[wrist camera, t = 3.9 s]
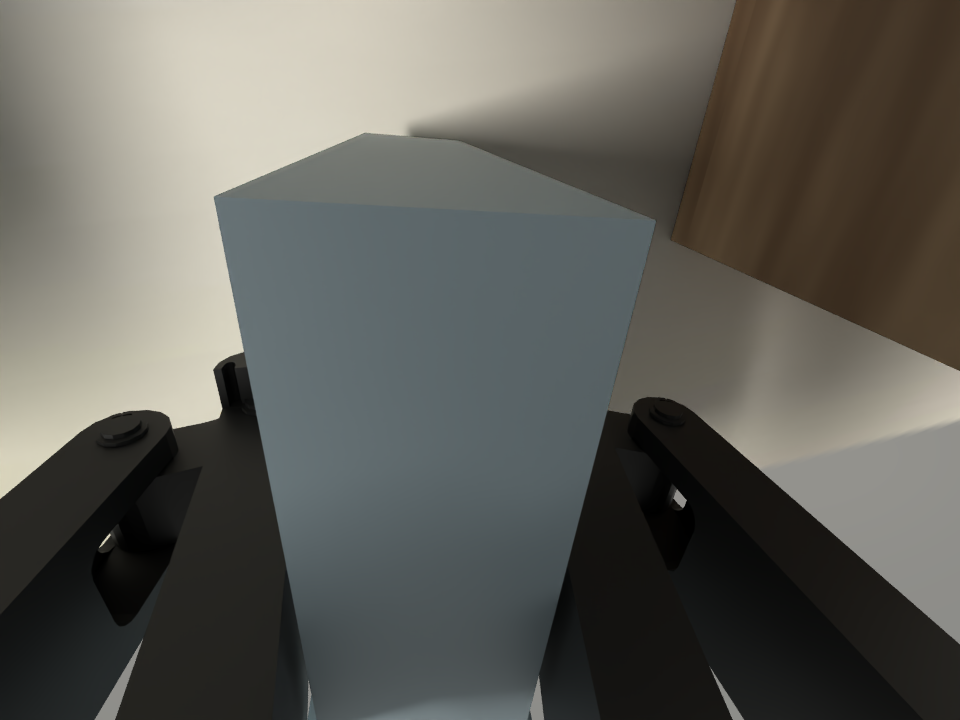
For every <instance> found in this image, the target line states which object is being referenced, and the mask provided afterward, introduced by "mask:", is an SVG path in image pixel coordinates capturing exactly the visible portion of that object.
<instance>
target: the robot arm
mask: <svg viewBox="0 0 960 720" xmlns="http://www.w3.org/2000/svg"><path fill="white" fill-rule="evenodd" d="M213 371H214V375H215V379H216V383H217V387H218V392H219V396H220V400H221V404H222V408H223V409H222V412H221V415H220V418H219V419H216V420H213V421H209V422H205V423H201V424H196V425H191V426H186V427H181V428H176V429H173V428H172V425H171V422H170V419H169V417H168V416H166V415H165V414H163V413H161V412H157V411H150V410H141V411H128V412H123V413H118V414H115V415H112V416H110V417H108V418H105V419H103V420H100V421H98V422H95V423H94V424H92V425H91V426H89V427H87V428H86V429H84V430H83V431H81V432H80V433H79V434H78V435H76V436H75V437H74V438H73V439H72V440H70V441H69V442H68V443H67V444H66V445H64V446H63V447H62V448H61V449H60V450H58V451H57V452H56V453H55V454H54V455H52V456H51V457H50V458H49V459H48V460H46V461H45V462H44V463H43V464H42V465H41V466H39V467H38V468H37V469H36V470H35V471H33V472H32V473H31V474H30V475H29V476H27V477H26V478H25V479H24V480H23V481H21V482H20V483H19V484H18V485H17V486H15V487H14V488H13V489H12V490H11V491H9V492H8V493H7V494H6V495H5V496H3V497H2V498H1V499H0V720H94V719H95V718H96V716H97V715H98V713H99V711H100V710H101V708H102V706H103V704H104V703H105V701H106V700H107V698H108V696H109V694H110V693H111V691H112V689H113V688H114V686H115V684H116V683H117V681H118V679H119V677H120V676H121V674H122V672H123V671H124V669H125V668H126V666H127V664H128V663H129V661H130V659H131V658H132V656H133V654H134V653H135V651H136V649H137V648H138V646H139V644H140V643H141V641H142V639H143V641H142V644H141V647H140V650H139V652H138V655H137V658H136V661H135V664H134V667H133V670H132V673H131V676H130V679H129V682H128V684H127V687H126V690H125V693H124V696H123V699H122V702H121V705H120V707H119V710H118V713H117V716H116V719H115V720H307V710H308V674H307V669H306V664H305V659H304V654H303V649H302V643H301V638H300V633H299V628H298V623H297V618H296V613H295V608H294V603H293V598H292V593H291V588H290V582H289V577H288V572H287V567H286V562H285V557H284V552H283V547H282V542H281V537H280V532H279V526H278V521H277V516H276V511H275V506H274V501H273V496H272V491H271V486H270V481H269V476H268V470H267V465H266V460H265V455H264V450H263V445H262V440H261V435H260V430H259V425H258V420H257V414H256V409H255V404H254V399H253V394H252V389H251V384H250V379H249V374H248V369H247V364H246V358H245V353H244V352H243V353H240V354H236V355H233V356H230V357H228V358H226V359H225V360H223V361H221V362H219V363H218V365H217V366H216V367H215V368H214V369H213ZM677 489H678V491H679V492H680V493H681V494H682V495H683V496H684V498H685V499H686V500H687V501H686V504H685V506H684V508H682V507H681V506H680V505H679V504H677V502H676V501H675V500H674V499H673V498H674V495H675V492H676V490H677ZM109 533H110V534H111V536H110V537H109V538H108V540H107V541H106V542H105V543H104V544H103V545H102V546H101V547H100V545H101V544H102V542H103V541H104V539H105V538H106V537H107V536H108V535H109ZM99 547H100V548H99ZM710 668H711V669H712V670H713V672H714V674H715V675H716V677H717V678H718V680H719V681H720V683H721V684H722V686H723V688H724V689H725V691H726V692H727V694H728V695H729V697H730V698H731V700H732V701H733V703H734V704H735V706H736V707H737V709H738V711H739V712H740V714H741V715H742V717H743V718H744V720H960V644H959V643H958V642H956V641H955V640H954V639H953V638H952V637H951V636H949V635H948V634H947V633H946V632H945V631H944V630H943V629H941V628H940V627H939V626H938V625H937V624H936V623H935V622H933V621H932V620H931V619H930V618H929V617H928V616H927V615H925V614H924V613H923V612H922V611H921V610H920V609H918V608H917V607H916V606H915V605H914V604H913V603H912V602H911V601H909V600H908V599H907V598H906V597H905V596H904V595H902V594H901V593H900V592H899V591H898V590H897V589H896V588H895V587H893V586H892V585H891V584H890V583H889V582H888V581H886V580H885V579H884V578H883V577H882V576H881V575H880V574H878V573H877V572H876V571H875V570H874V569H873V568H872V567H870V566H869V565H868V564H867V563H866V562H865V561H864V560H862V559H861V558H860V557H859V556H858V555H857V554H856V553H854V552H853V551H852V550H851V549H850V548H849V547H848V546H846V545H845V544H844V543H843V542H842V541H841V540H840V539H838V538H837V537H836V536H835V535H834V534H833V533H831V532H830V531H829V530H828V529H827V528H826V527H824V526H823V525H822V524H821V523H820V522H819V521H817V519H815V518H814V517H813V516H812V515H811V514H810V513H809V512H807V511H806V510H805V509H804V508H803V507H802V506H801V505H799V504H798V503H797V502H796V501H795V500H794V499H792V498H791V497H790V496H789V495H788V494H787V493H786V492H784V491H783V490H782V489H781V488H780V487H779V486H778V485H776V484H775V483H774V482H773V481H772V480H771V479H770V478H768V477H767V476H766V475H765V474H764V473H763V472H762V471H760V470H759V469H758V468H757V467H756V466H755V465H754V464H752V463H751V462H750V461H749V460H748V459H747V458H746V457H744V456H743V455H742V454H741V453H740V452H739V451H738V450H736V449H735V448H734V447H733V446H732V445H731V444H730V443H728V442H727V441H726V440H725V439H724V438H723V437H721V436H720V435H719V434H718V433H717V432H716V431H715V430H713V429H712V428H711V427H710V426H709V425H708V424H707V423H705V422H704V421H703V420H702V419H701V418H700V417H699V416H697V415H696V414H695V413H694V412H693V411H691V410H690V409H688V408H687V407H685V406H684V405H681V404H679V403H677V402H675V401H673V400H670V399H665V398H660V397H658V398H655V397H647V398H643V399H639V400H638V401H637V402H636V403H634V406H633V409H632V412H631V415H630V414H625V413H619V412H613V411H607V414H606V417H605V421H604V425H603V429H602V433H601V437H600V441H599V444H598V448H597V452H596V456H595V460H594V464H593V468H592V472H591V475H590V479H589V483H588V487H587V491H586V495H585V499H584V502H583V506H582V510H581V514H580V518H579V522H578V526H577V530H576V533H575V537H574V541H573V545H572V549H571V553H570V557H569V560H568V564H567V568H566V572H565V576H564V580H563V584H562V587H561V591H560V595H559V599H558V603H557V607H556V611H555V615H554V618H553V622H552V626H551V630H550V634H549V638H548V642H547V645H546V649H545V653H544V657H543V661H542V665H541V669H540V673H539V679H540V686H541V696H542V704H543V713H544V720H733V719H732V717H731V715H730V713H729V710H728V708H727V706H726V703H725V701H724V699H723V697H722V695H721V692H720V689H719V687H718V685H717V683H716V680H715V678H714V676H713V673H712V671H711V669H710Z"/></svg>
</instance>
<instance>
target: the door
mask: <svg viewBox="0 0 960 720" xmlns="http://www.w3.org/2000/svg"><path fill="white" fill-rule="evenodd" d="M214 201H215V206H216V211H217V216H218V221H219V226H220V231H221V236H222V241H223V246H224V252H225V257H226V262H227V267H228V272H229V277H230V282H231V287H232V292H233V297H234V302H235V308H236V313H237V318H238V323H239V328H240V333H241V338H242V343H243V348H244V353H245V358H246V364H247V369H248V374H249V379H250V384H251V389H252V394H253V399H254V404H255V409H256V414H257V420H258V425H259V430H260V435H261V440H262V445H263V450H264V455H265V460H266V465H267V470H268V476H269V481H270V486H271V491H272V496H273V501H274V506H275V511H276V516H277V521H278V526H279V532H280V537H281V542H282V547H283V552H284V557H285V562H286V567H287V572H288V577H289V582H290V588H291V593H292V598H293V603H294V608H295V613H296V618H297V623H298V628H299V633H300V638H301V643H302V649H303V654H304V659H305V664H306V669H307V674H308V679H309V684H310V689H311V694H312V695H311V701H310V707H309V714H308V720H532V718H531V713H530V707H531V703H532V700H533V696H534V692H535V688H536V684H537V680H538V676H539V673H540V669H541V665H542V661H543V657H544V653H545V649H546V645H547V642H548V638H549V634H550V630H551V626H552V622H553V618H554V615H555V611H556V607H557V603H558V599H559V595H560V591H561V587H562V584H563V580H564V576H565V572H566V568H567V564H568V560H569V557H570V553H571V549H572V545H573V541H574V537H575V533H576V530H577V526H578V522H579V518H580V514H581V510H582V506H583V502H584V499H585V495H586V491H587V487H588V483H589V479H590V475H591V472H592V468H593V464H594V460H595V456H596V452H597V448H598V444H599V441H600V437H601V433H602V429H603V425H604V421H605V417H606V414H607V410H608V406H609V402H610V398H611V394H612V390H613V387H614V383H615V379H616V375H617V371H618V367H619V363H620V359H621V356H622V352H623V348H624V344H625V340H626V336H627V332H628V329H629V325H630V321H631V317H632V313H633V309H634V305H635V301H636V298H637V294H638V290H639V286H640V282H641V278H642V274H643V271H644V267H645V263H646V259H647V255H648V251H649V247H650V244H651V240H652V236H653V232H654V228H655V224H656V220H654V219H652V218H649V217H647V216H644V215H642V214H639V213H637V212H634V211H632V210H629V209H627V208H625V207H622V206H620V205H617V204H615V203H612V202H610V201H607V200H605V199H602V198H600V197H597V196H595V195H592V194H590V193H587V192H585V191H583V190H580V189H578V188H575V187H573V186H570V185H568V184H565V183H563V182H560V181H558V180H555V179H553V178H550V177H548V176H546V175H543V174H541V173H538V172H536V171H533V170H531V169H528V168H526V167H523V166H521V165H518V164H516V163H513V162H511V161H508V160H506V159H504V158H501V157H499V156H496V155H494V154H491V153H489V152H486V151H484V150H481V149H479V148H476V147H474V146H471V145H469V144H466V143H464V142H462V141H458V140H445V139H433V138H421V137H408V136H396V135H384V134H371V133H364V134H361V135H359V136H356V137H354V138H352V139H349V140H347V141H345V142H342V143H340V144H337V145H335V146H333V147H330V148H328V149H326V150H323V151H321V152H318V153H316V154H314V155H311V156H309V157H307V158H304V159H302V160H299V161H297V162H295V163H292V164H290V165H288V166H285V167H283V168H280V169H278V170H276V171H273V172H271V173H269V174H266V175H264V176H261V177H259V178H257V179H254V180H252V181H250V182H247V183H245V184H242V185H240V186H238V187H235V188H233V189H231V190H228V191H226V192H223V193H221V194H219V195H216V196H214Z"/></svg>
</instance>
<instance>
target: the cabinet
mask: <svg viewBox="0 0 960 720" xmlns="http://www.w3.org/2000/svg"><path fill="white" fill-rule="evenodd" d="M671 240H672V241H674V242H676V243H679V244H681V245H683V246H685V247H687V248H690V249H692V250H694V251H696V252H698V253H701V254H703V255H705V256H707V257H709V258H712V259H714V260H716V261H718V262H721V263H723V264H725V265H727V266H729V267H732V268H734V269H736V270H738V271H740V272H743V273H745V274H747V275H749V276H751V277H754V278H756V279H758V280H760V281H762V282H765V283H767V284H769V285H771V286H774V287H776V288H778V289H780V290H782V291H785V292H787V293H789V294H791V295H793V296H796V297H798V298H800V299H802V300H804V301H807V302H809V303H811V304H813V305H815V306H818V307H820V308H822V309H824V310H826V311H829V312H831V313H833V314H835V315H838V316H840V317H842V318H844V319H846V320H849V321H851V322H853V323H855V324H857V325H860V326H862V327H864V328H866V329H868V330H871V331H873V332H875V333H877V334H879V335H882V336H884V337H886V338H888V339H891V340H893V341H895V342H897V343H899V344H902V345H904V346H906V347H908V348H910V349H913V350H915V351H917V352H919V353H921V354H924V355H926V356H928V357H930V358H932V359H935V360H937V361H939V362H941V363H944V364H946V365H948V366H950V367H952V368H955V369H957V370H959V371H960V0H737V1H736V4H735V8H734V12H733V15H732V19H731V23H730V26H729V30H728V33H727V37H726V41H725V44H724V48H723V52H722V55H721V59H720V63H719V66H718V70H717V73H716V77H715V81H714V84H713V88H712V92H711V95H710V99H709V103H708V106H707V110H706V113H705V117H704V121H703V124H702V128H701V132H700V135H699V139H698V143H697V146H696V150H695V153H694V157H693V161H692V164H691V168H690V172H689V175H688V179H687V183H686V186H685V190H684V193H683V197H682V201H681V204H680V208H679V212H678V215H677V219H676V223H675V226H674V230H673V234H672V237H671Z"/></svg>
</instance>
